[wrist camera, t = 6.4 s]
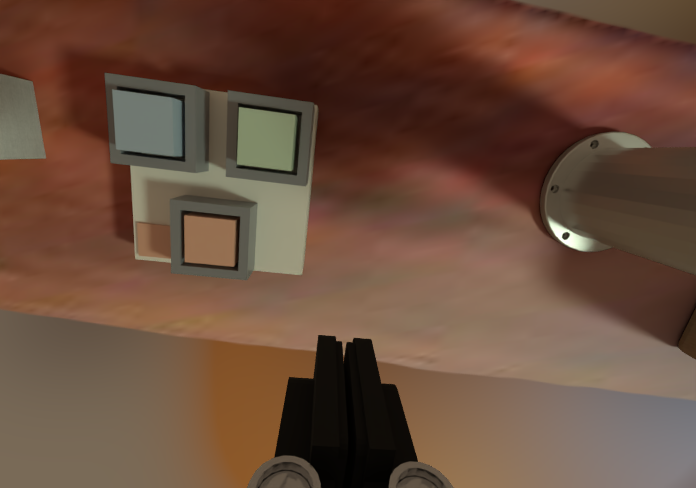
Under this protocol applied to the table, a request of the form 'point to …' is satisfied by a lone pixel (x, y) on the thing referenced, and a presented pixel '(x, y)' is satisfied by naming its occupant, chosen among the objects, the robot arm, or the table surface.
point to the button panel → (218, 182)
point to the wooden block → (689, 338)
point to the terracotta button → (211, 238)
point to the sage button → (266, 139)
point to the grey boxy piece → (19, 120)
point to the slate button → (149, 123)
